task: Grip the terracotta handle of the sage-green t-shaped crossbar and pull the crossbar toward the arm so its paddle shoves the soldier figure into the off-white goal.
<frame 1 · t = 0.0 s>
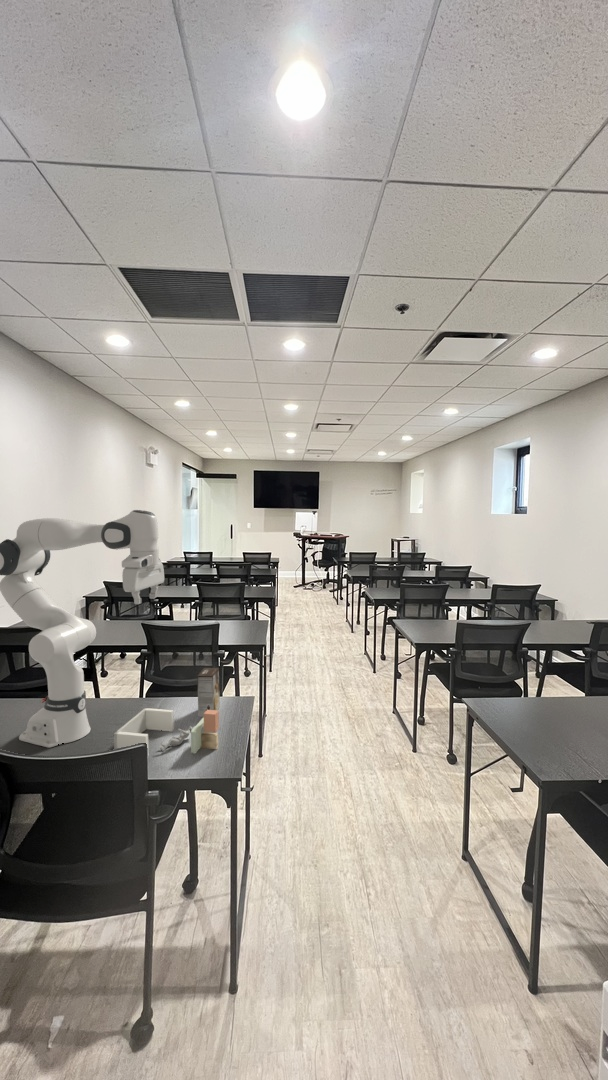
hand: (145, 601, 149), 48 cm above the table, tool pointing down, fingers open, 8 cm apart
t-shaped crossbar: (207, 728, 148), point 6 cm above the table, slide at 0.0 cm
tan wooden block: (205, 747, 148), on the table
goal: (145, 741, 152), on the table
soldier figure: (177, 745, 150), on the table
coffee box: (209, 712, 174), on the table
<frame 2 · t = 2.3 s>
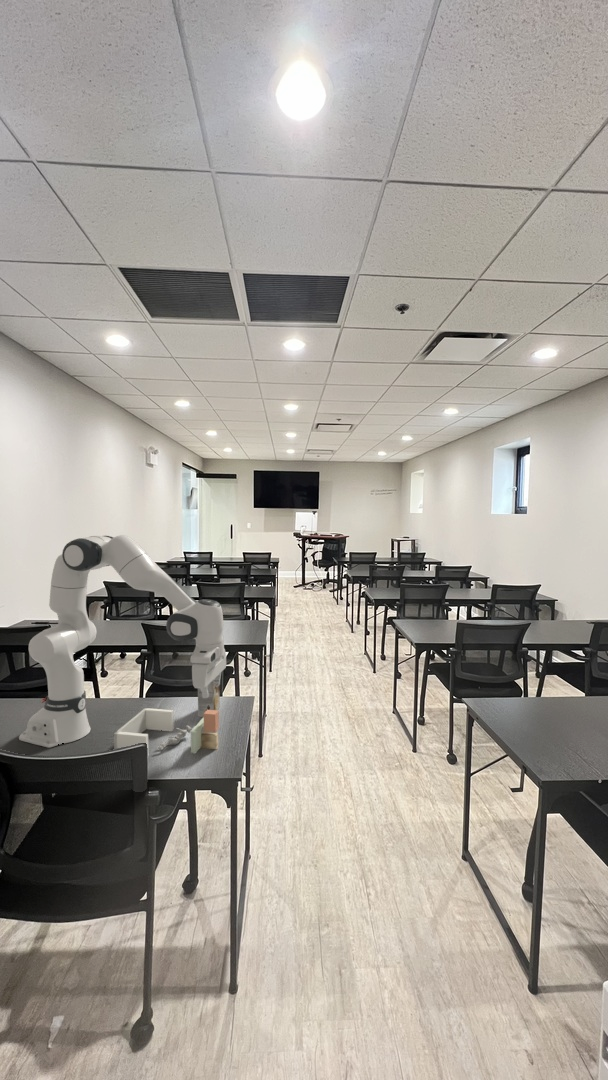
hand: (211, 691, 147), 19 cm above the table, tool pointing down, fingers open, 8 cm apart
soldier figure: (175, 744, 150), on the table
everything else where it was.
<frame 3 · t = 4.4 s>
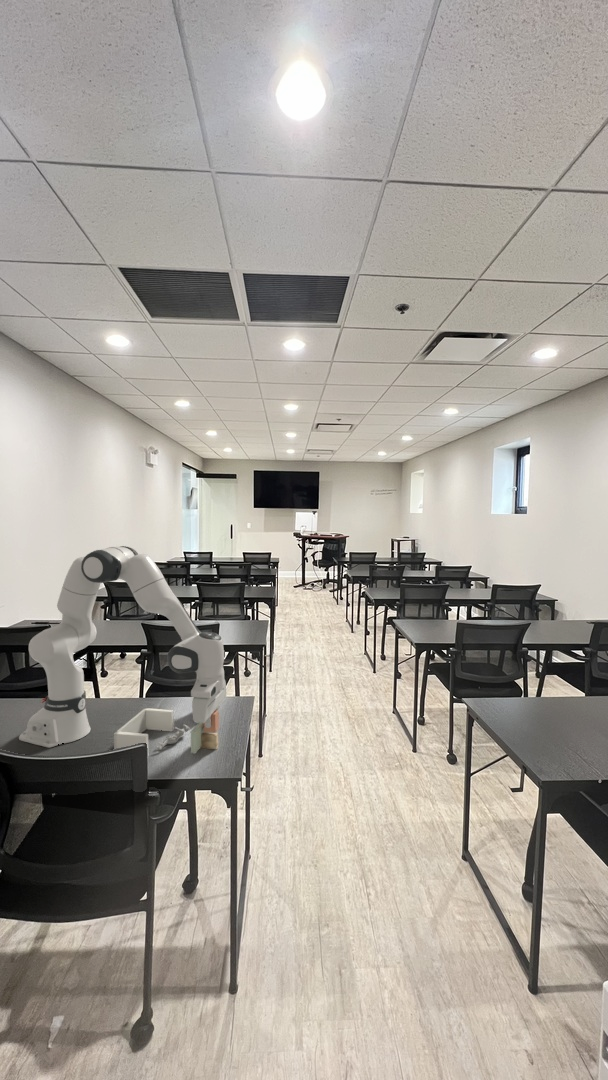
hand: (211, 723, 147), 8 cm above the table, tool pointing down, fingers closed on t-shaped crossbar, 3 cm apart
t-shaped crossbar: (207, 728, 148), point 6 cm above the table, slide at 0.0 cm, touching gripper
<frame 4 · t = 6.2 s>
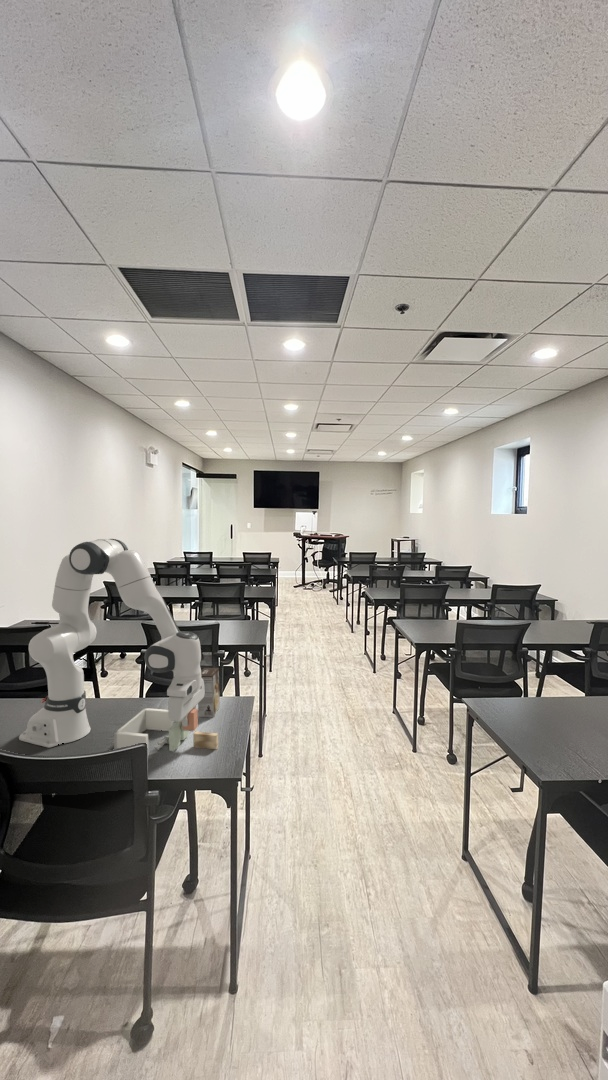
hand: (188, 722, 149), 8 cm above the table, tool pointing down, fingers closed on t-shaped crossbar, 3 cm apart
t-shaped crossbar: (186, 726, 149), point 6 cm above the table, slide at 7.4 cm, touching gripper
soldier figure: (170, 743, 151), on the table
everything else where it was.
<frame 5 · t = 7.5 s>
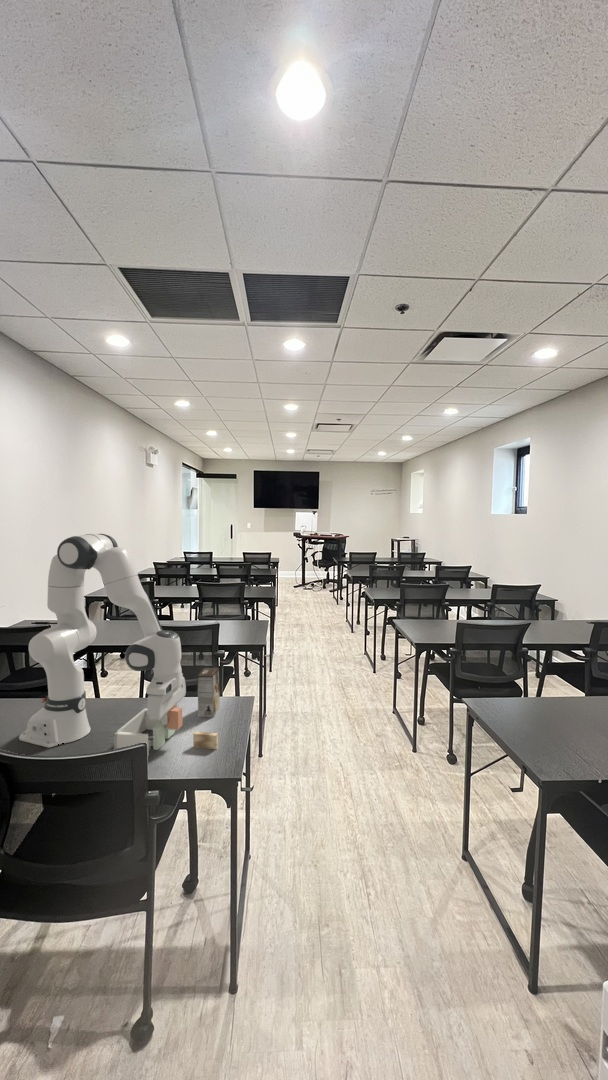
hand: (168, 720, 150), 8 cm above the table, tool pointing down, fingers closed on t-shaped crossbar, 3 cm apart
t-shaped crossbar: (171, 724, 150), point 6 cm above the table, slide at 12.9 cm, touching gripper
soldier figure: (157, 742, 152), on the table
everything else where it was.
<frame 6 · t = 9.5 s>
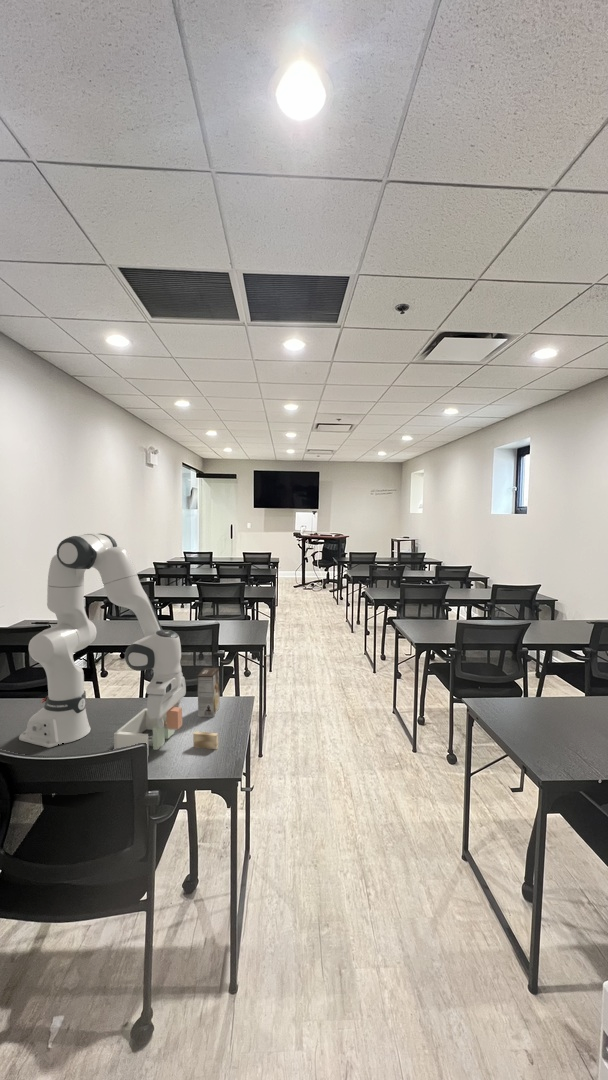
hand: (168, 720, 150), 8 cm above the table, tool pointing down, fingers open, 8 cm apart
t-shaped crossbar: (170, 724, 150), point 6 cm above the table, slide at 13.0 cm
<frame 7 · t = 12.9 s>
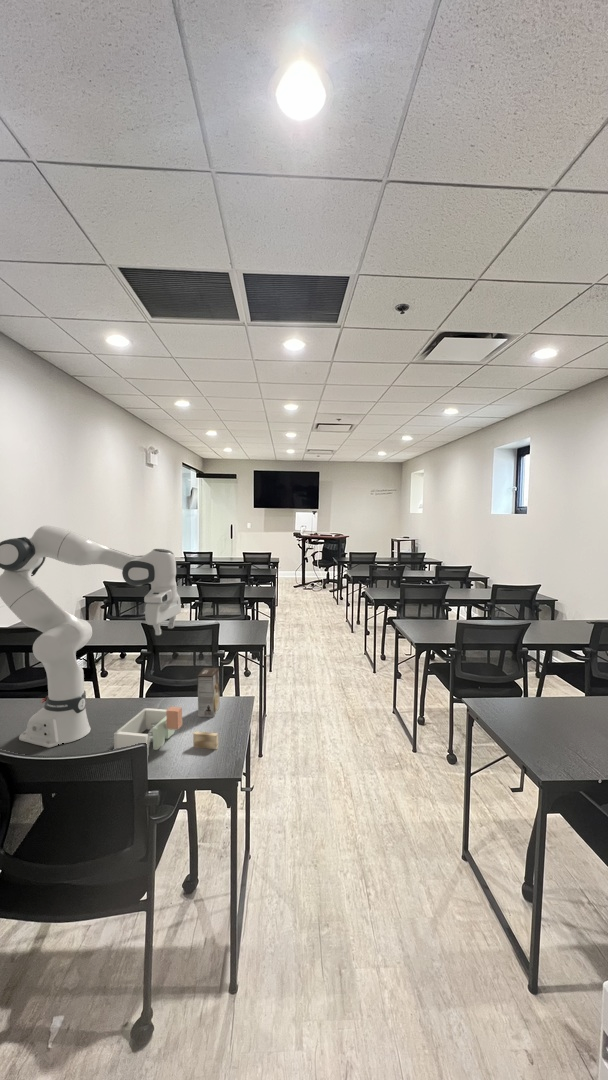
hand: (165, 631, 163), 34 cm above the table, tool pointing down, fingers open, 8 cm apart
soldier figure: (149, 742, 152), on the table
everything else where it was.
at the end: soldier figure inside the target area (1.4 cm from its centre), on the table; t-shaped crossbar slide at 13.0 cm; coffee box moved 0.2 cm from its start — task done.
